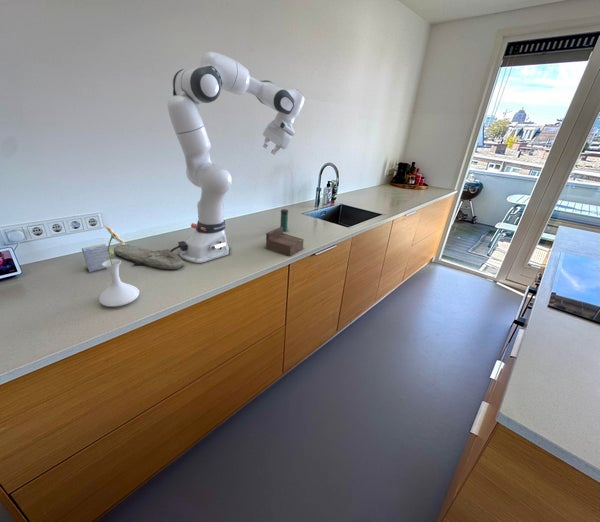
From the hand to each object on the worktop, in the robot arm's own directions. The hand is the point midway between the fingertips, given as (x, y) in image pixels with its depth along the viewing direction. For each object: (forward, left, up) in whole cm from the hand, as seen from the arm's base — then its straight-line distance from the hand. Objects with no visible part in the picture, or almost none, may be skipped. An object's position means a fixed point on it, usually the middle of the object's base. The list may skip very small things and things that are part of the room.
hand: (268, 150), depth 144 cm
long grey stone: (-62, +15, -43) cm, 77 cm away
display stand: (-14, -22, -43) cm, 50 cm away
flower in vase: (-84, -4, -43) cm, 94 cm away
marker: (+7, -7, -43) cm, 44 cm away
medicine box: (-77, +23, -43) cm, 91 cm away
